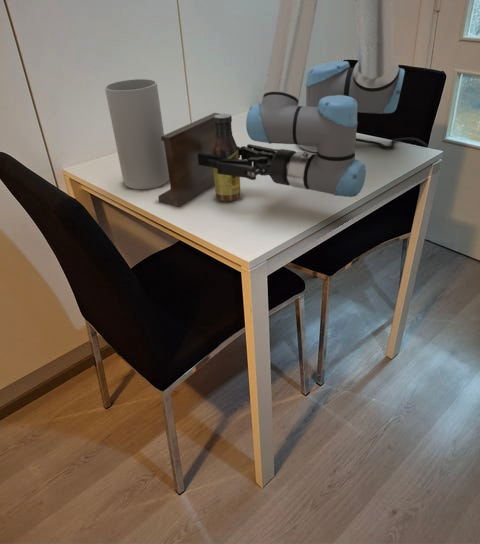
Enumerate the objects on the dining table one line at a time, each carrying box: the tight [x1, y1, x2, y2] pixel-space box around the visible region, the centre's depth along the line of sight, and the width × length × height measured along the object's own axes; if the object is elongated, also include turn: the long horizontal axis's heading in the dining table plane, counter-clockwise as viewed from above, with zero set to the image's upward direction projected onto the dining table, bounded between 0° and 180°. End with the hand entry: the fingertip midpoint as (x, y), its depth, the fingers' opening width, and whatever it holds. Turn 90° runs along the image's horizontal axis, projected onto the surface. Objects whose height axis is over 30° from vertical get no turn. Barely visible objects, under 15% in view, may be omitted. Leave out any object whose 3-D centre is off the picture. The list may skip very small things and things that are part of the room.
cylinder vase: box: [104, 78, 170, 190], centre depth 125 cm, size 12×12×25 cm
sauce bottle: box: [212, 113, 241, 202], centre depth 114 cm, size 7×6×20 cm
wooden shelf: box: [157, 112, 221, 208], centre depth 120 cm, size 6×21×17 cm, turn 147°
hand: (208, 153), depth 116 cm, fingers open, 7 cm apart
